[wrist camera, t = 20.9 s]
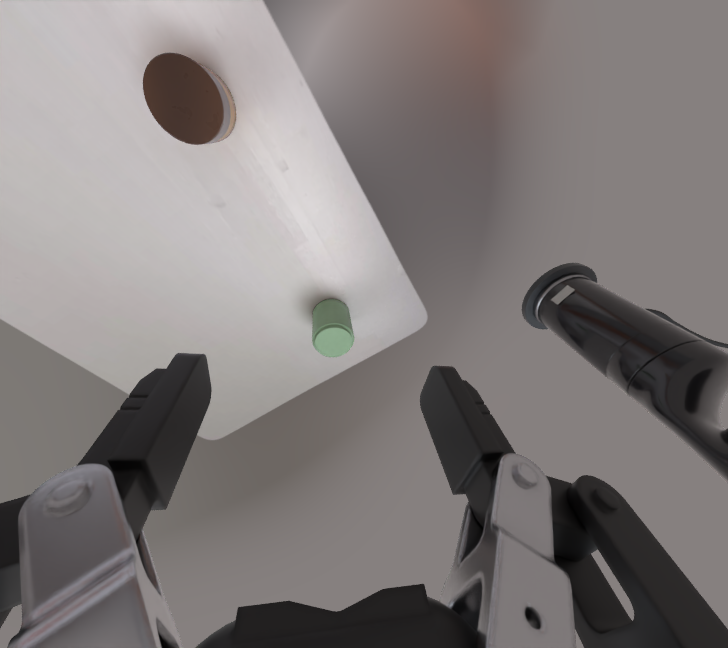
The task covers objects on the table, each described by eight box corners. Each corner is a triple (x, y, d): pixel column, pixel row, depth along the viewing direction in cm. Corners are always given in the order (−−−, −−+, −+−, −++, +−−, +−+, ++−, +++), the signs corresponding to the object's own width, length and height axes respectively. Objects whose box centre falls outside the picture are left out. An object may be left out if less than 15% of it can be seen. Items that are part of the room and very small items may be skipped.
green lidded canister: (351, 300, 42) (357, 327, 36) (346, 330, 45) (351, 359, 39) (314, 297, 41) (314, 324, 35) (311, 328, 44) (310, 358, 38)
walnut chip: (228, 69, 24) (220, 63, 22) (233, 149, 28) (226, 150, 26) (149, 50, 23) (133, 42, 21) (164, 136, 26) (152, 137, 24)
